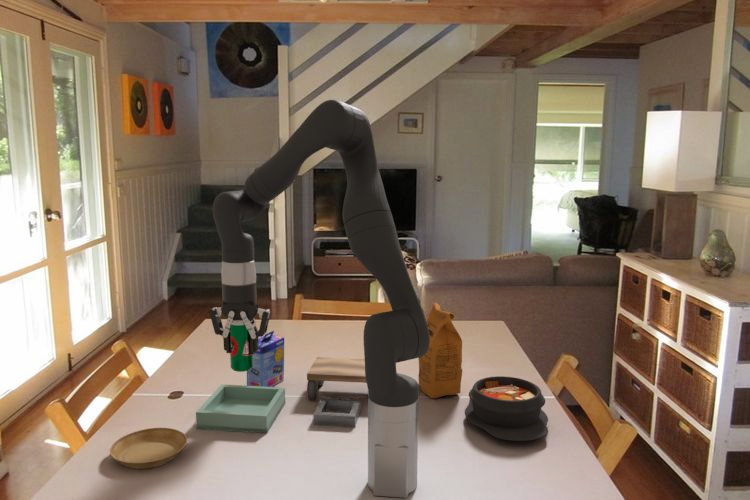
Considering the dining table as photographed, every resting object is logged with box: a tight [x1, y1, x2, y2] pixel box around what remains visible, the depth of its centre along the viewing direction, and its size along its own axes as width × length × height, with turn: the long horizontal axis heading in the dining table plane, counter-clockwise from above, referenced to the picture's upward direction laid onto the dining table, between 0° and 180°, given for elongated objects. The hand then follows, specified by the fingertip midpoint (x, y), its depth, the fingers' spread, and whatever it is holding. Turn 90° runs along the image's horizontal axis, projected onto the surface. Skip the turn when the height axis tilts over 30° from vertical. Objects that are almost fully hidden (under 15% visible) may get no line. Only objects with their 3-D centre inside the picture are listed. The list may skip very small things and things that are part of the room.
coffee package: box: [418, 302, 463, 399], centre depth 159 cm, size 10×12×22 cm
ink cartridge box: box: [246, 330, 285, 387], centre depth 163 cm, size 10×6×14 cm, turn 152°
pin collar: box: [313, 397, 362, 428], centre depth 145 cm, size 9×9×2 cm
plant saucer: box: [109, 427, 188, 470], centre depth 127 cm, size 15×15×3 cm
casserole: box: [464, 375, 549, 442], centre depth 142 cm, size 25×19×8 cm
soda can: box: [229, 319, 253, 373], centre depth 142 cm, size 5×5×12 cm
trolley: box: [306, 356, 367, 401], centre depth 158 cm, size 14×18×7 cm
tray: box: [195, 384, 286, 434], centre depth 145 cm, size 16×16×4 cm
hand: (241, 352), depth 143 cm, fingers closed on soda can, 5 cm apart
